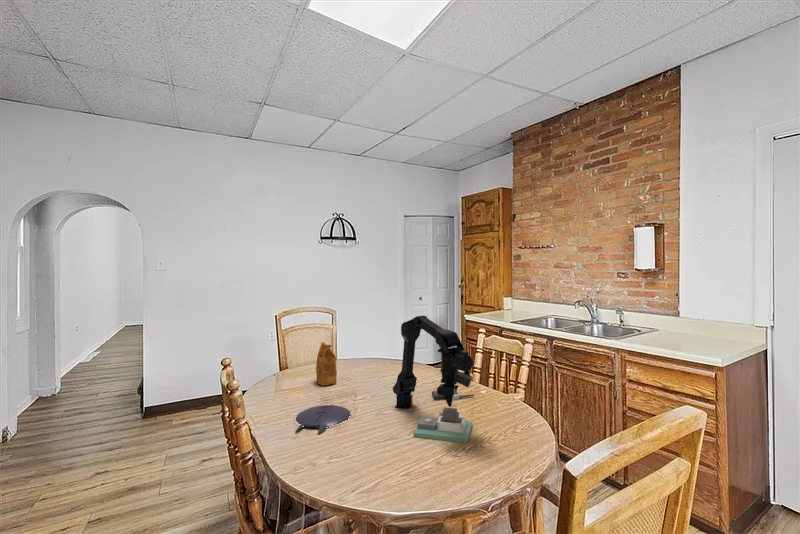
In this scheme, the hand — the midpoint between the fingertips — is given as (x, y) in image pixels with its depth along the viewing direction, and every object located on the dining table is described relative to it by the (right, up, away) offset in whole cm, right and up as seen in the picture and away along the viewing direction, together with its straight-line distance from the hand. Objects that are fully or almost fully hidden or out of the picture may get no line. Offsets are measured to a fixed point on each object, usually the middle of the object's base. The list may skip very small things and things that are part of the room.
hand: (450, 406), depth 145 cm
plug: (0, -8, 0) cm, 8 cm away
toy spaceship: (-52, -12, +15) cm, 56 cm away
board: (-2, -10, +1) cm, 10 cm away
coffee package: (-60, -11, +63) cm, 88 cm away
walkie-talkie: (+6, -10, +37) cm, 39 cm away
